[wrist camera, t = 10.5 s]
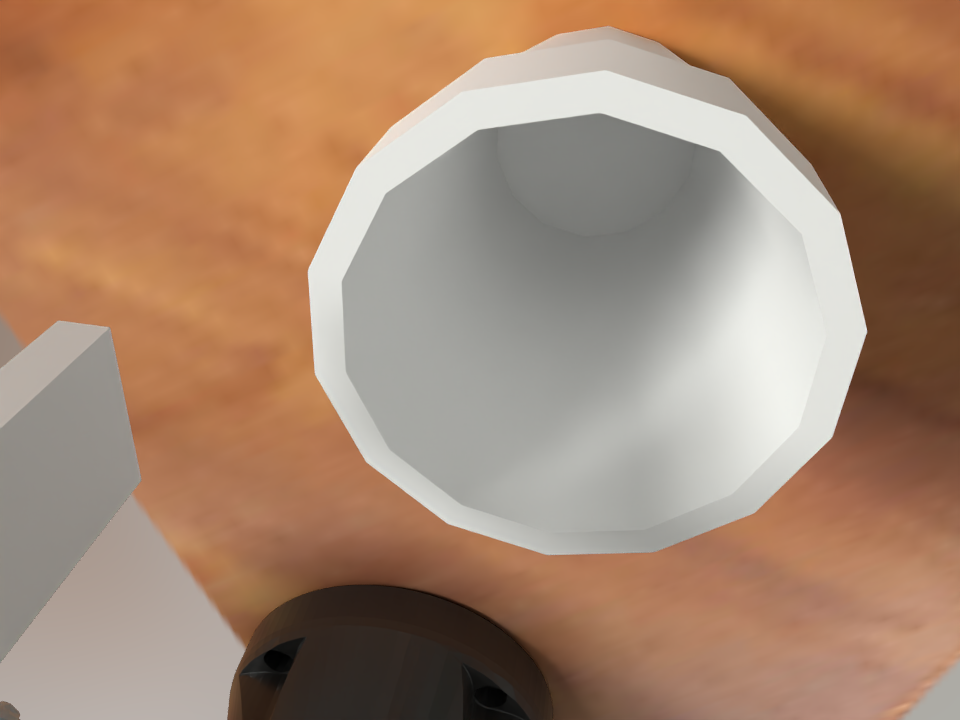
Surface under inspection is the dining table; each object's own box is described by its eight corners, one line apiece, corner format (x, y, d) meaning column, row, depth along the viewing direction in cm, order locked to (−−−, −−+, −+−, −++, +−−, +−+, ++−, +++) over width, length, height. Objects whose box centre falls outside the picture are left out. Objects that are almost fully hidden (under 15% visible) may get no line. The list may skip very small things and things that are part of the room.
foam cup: (757, -60, 22) (884, 27, 11) (761, 260, 27) (854, 547, 16) (413, 0, 24) (234, 125, 13) (471, 288, 29) (374, 559, 18)
